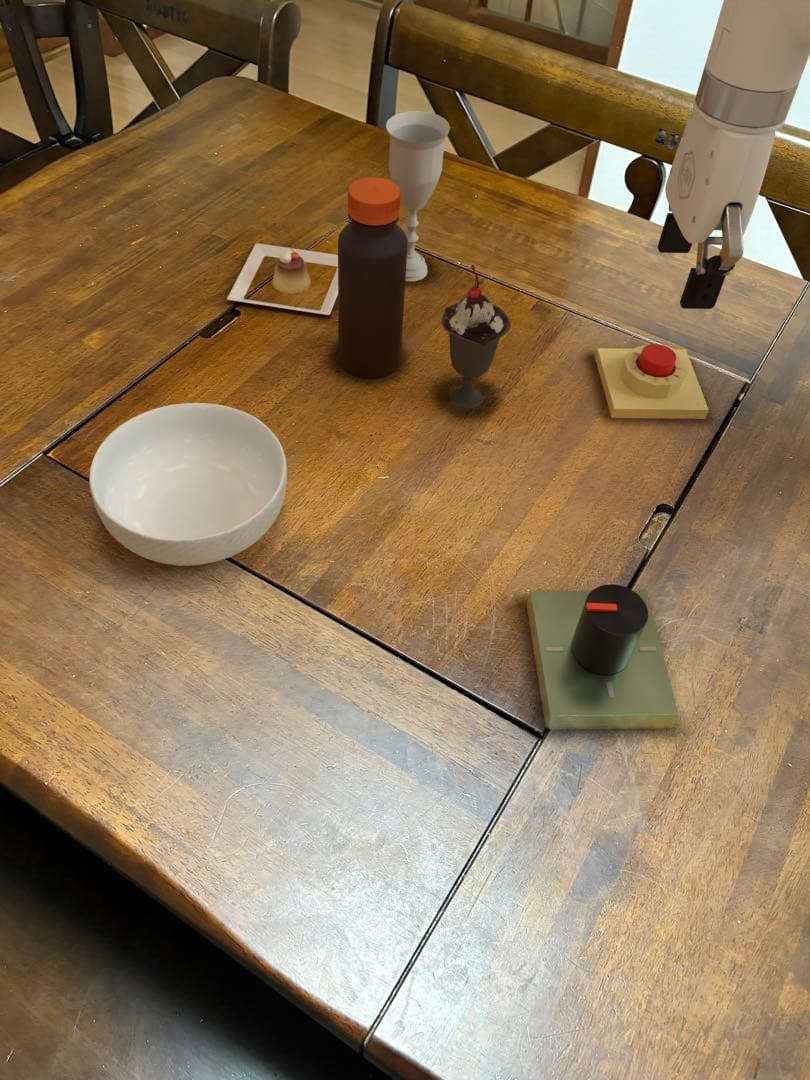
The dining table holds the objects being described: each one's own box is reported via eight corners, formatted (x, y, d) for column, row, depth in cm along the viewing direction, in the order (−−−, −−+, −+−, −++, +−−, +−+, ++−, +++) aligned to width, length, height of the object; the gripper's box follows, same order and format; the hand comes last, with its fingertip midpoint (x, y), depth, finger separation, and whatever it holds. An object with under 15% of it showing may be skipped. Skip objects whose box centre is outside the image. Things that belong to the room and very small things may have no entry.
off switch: (681, 361, 102) (690, 336, 100) (704, 422, 96) (714, 396, 93) (593, 360, 102) (600, 334, 99) (610, 421, 95) (618, 395, 93)
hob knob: (626, 625, 75) (643, 582, 71) (635, 675, 72) (654, 634, 68) (568, 623, 75) (582, 580, 71) (575, 673, 72) (590, 631, 68)
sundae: (456, 371, 99) (470, 248, 88) (508, 397, 97) (530, 274, 86) (421, 403, 96) (431, 279, 84) (475, 430, 93) (493, 307, 82)
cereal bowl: (297, 583, 79) (294, 530, 74) (100, 603, 77) (81, 549, 72) (282, 448, 90) (278, 393, 85) (108, 461, 88) (93, 406, 82)
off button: (667, 357, 98) (672, 343, 96) (675, 379, 95) (680, 365, 94) (634, 356, 98) (638, 343, 96) (641, 378, 95) (645, 365, 94)
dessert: (352, 265, 111) (352, 229, 108) (329, 323, 104) (329, 286, 100) (256, 250, 112) (253, 215, 109) (227, 307, 104) (223, 271, 101)
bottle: (380, 390, 97) (387, 217, 81) (326, 368, 98) (323, 195, 83) (411, 356, 100) (424, 185, 85) (359, 335, 102) (361, 164, 87)
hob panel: (638, 607, 80) (646, 589, 78) (670, 731, 72) (679, 714, 70) (525, 607, 79) (530, 589, 77) (544, 732, 71) (550, 715, 69)
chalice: (426, 296, 108) (438, 148, 94) (372, 283, 109) (376, 134, 95) (444, 264, 112) (458, 118, 99) (392, 251, 114) (399, 106, 100)
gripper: (674, 49, 80) (627, 228, 93) (728, 145, 69) (666, 333, 82) (757, 52, 81) (699, 230, 94) (824, 148, 69) (747, 334, 83)
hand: (684, 277), depth 88 cm, fingers open, 8 cm apart
